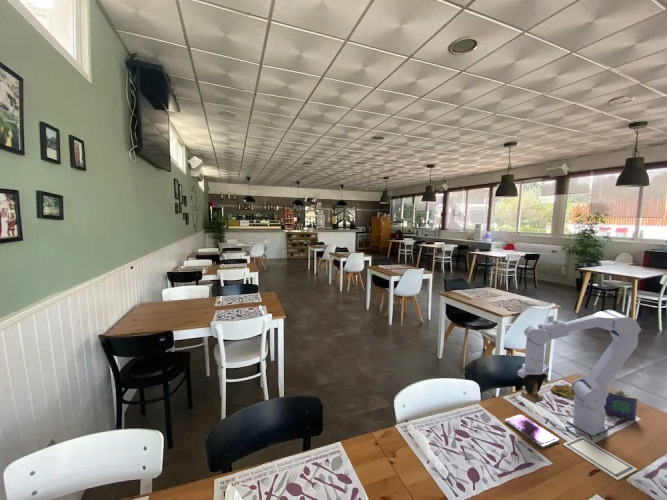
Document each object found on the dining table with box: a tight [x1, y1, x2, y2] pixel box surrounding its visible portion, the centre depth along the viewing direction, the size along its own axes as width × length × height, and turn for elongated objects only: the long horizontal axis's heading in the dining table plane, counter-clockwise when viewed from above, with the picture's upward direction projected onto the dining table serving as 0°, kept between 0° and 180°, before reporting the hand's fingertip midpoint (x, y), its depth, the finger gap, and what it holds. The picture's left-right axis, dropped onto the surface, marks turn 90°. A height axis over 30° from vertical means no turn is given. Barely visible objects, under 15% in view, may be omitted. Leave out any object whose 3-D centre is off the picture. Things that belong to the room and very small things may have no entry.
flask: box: [604, 389, 638, 422], centre depth 106 cm, size 9×3×11 cm, turn 61°
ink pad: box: [504, 414, 560, 449], centre depth 98 cm, size 8×13×1 cm, turn 20°
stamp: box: [520, 382, 544, 404], centre depth 106 cm, size 5×5×6 cm
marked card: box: [562, 436, 638, 481], centre depth 87 cm, size 10×14×1 cm
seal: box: [550, 384, 575, 400], centre depth 122 cm, size 9×5×15 cm
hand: (532, 391), depth 106 cm, fingers closed on stamp, 3 cm apart
